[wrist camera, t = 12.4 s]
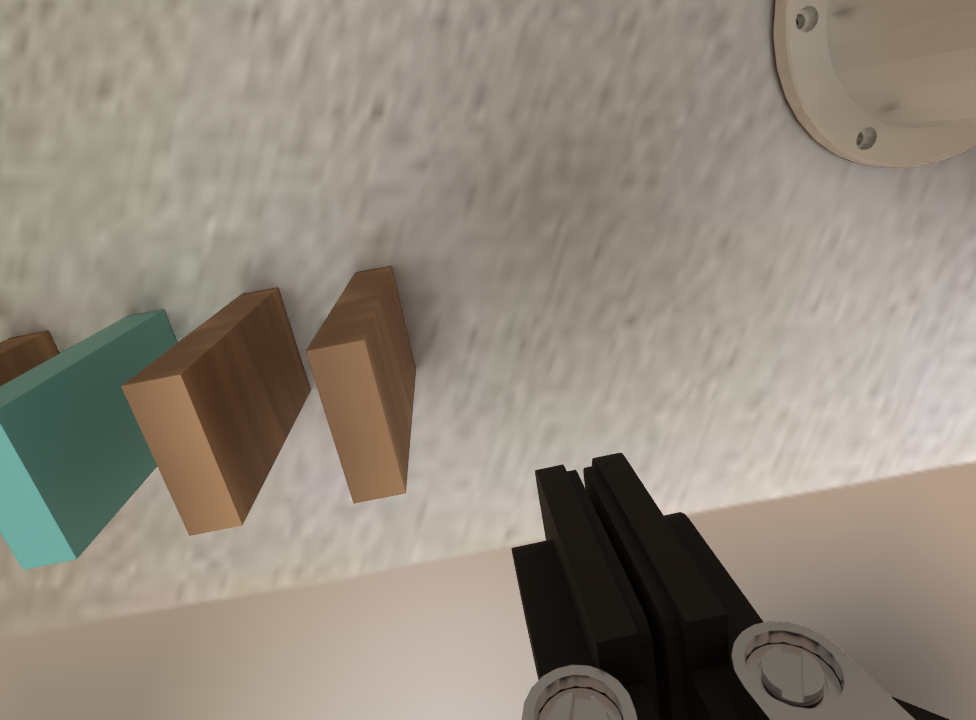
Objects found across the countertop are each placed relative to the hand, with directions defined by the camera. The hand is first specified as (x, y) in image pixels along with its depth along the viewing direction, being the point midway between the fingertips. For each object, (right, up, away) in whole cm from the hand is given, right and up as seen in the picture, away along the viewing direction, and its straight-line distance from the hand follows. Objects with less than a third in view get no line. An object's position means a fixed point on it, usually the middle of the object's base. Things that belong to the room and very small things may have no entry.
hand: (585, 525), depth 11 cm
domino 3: (-6, +5, +14) cm, 17 cm away
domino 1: (-16, +3, +14) cm, 22 cm away
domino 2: (-11, +4, +14) cm, 19 cm away
